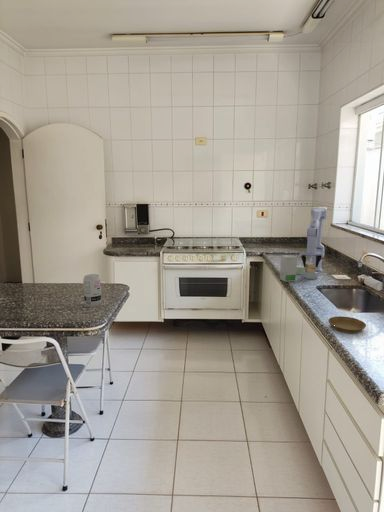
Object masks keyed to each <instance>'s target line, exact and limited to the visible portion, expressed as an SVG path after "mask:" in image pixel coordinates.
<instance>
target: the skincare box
mask: <svg viewBox="0 0 384 512" xmlns="http://www.w3.org/2000/svg"><path fill="white" fill-rule="evenodd" d="M297 264H298V256H296V255H293V254H292V255H280V270H279V280H280V281H282V282H284V283H286V282H289V283H290V282H296V281H297V274H296V268H297V266H298V265H297Z"/></svg>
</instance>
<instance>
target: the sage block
mask: <svg viewBox="0 0 384 512" xmlns="http://www.w3.org/2000/svg"><path fill="white" fill-rule="evenodd" d="M303 271H305V267H304V266H303V265H297V268H296V275H301V276H302V272H303Z"/></svg>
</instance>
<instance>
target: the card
mask: <svg viewBox="0 0 384 512" xmlns="http://www.w3.org/2000/svg"><path fill="white" fill-rule="evenodd" d="M331 277H333V279H335V280H349V281H350V280H352V278H351V277H349V276H348V275H346V274H331Z"/></svg>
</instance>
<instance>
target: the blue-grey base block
mask: <svg viewBox="0 0 384 512" xmlns="http://www.w3.org/2000/svg"><path fill="white" fill-rule="evenodd" d="M318 276H319V272H317V271H315V273H307V272H306V271H303V272H302V275H301V277H303V278H304V279H307V280H312V279H313V280H315V279H318V278H319V277H318Z"/></svg>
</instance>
